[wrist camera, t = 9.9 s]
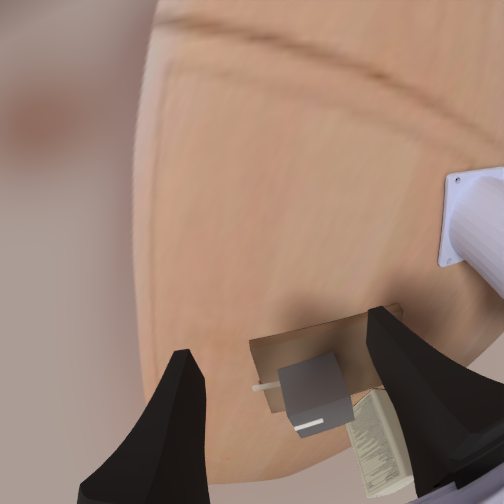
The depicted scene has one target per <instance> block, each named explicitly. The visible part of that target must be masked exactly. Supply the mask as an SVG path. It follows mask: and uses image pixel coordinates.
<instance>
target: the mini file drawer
mask: <svg viewBox="0 0 504 504" xmlns="http://www.w3.org/2000/svg"><path fill="white" fill-rule="evenodd" d="M277 372H278V376H279V381H280V385H281V390H282V394H283V399H284V404H285V408H286V413H287V417H288V418H289V420H290V422H291V423H292V425H293V426H294V429H295V430H296V431H297V433H298V434H299V436H300V437H301V438H304V437H308V436H311V435H314V434H317V433H320V432H323V431H326V430H329V429H332V428H335V427H338V426H341V425H344V424H346V423H349V422H352V421H354V420H355V417H354V412H353V407H352V402H351V397H350V393H349V391H348V388H347V386H346V383H345V381H344V378H343V375H342V373H341V370H340V368H339V365H338V363H337V360H336V358H335V355H334V353H333V351H331V352H329V353H326V354H323V355H321V356H318V357H315V358H312V359H309V360H307V361H304V362H301V363H298V364H295V365H292V366H289V367H286V368H283V369H280V370H277Z"/></svg>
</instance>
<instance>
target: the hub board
mask: <svg viewBox="0 0 504 504" xmlns="http://www.w3.org/2000/svg"><path fill="white" fill-rule="evenodd" d="M384 308H386V309H387V310H388V311H389V312H390V313H391V314H392V315H394V316H395V317H396V318H397V319H398V320H399V321H401V320H402V314H403V310H402V308H401V307H400V305H399V304H398V303H397V304H394V305H390V306H387V307H384ZM367 320H368V312H366V313H363V314H359V315H355V316H352V317H348V318H344V319H340V320H337V321H333V322H329V323H325V324H321V325H317V326H313V327H309V328H304V329H300V330H296V331H291V332H287V333H282V334H278V335H273V336H268V337H264V338H259V339H254V340H249V344H250V351H251V354H252V357H253V360H254V363H255V366H256V369H257V372H258V375H259V378H260V381H261V385H255V386H252V388H253V391H259V390H264V393H265V396H266V399H267V402H268V404H269V407H270V410H271V413H277V412H282V411H286V408H285V404H284V399H283V394H282V390H281V385H280V381H279V376H278V372H277V370H280V369H283V368H286V367H289V366H292V365H295V364H298V363H301V362H304V361H307V360H309V359H312V358H315V357H318V356H321V355H323V354H326V353H329V352H331V351H333V353H334V355H335V358H336V360H337V363H338V365H339V368H340V370H341V373H342V375H343V378H344V381H345V383H346V386H347V388H348V391H349V393H350V395H352V394H355V393H358V392H362V391H365V390H368V389H371V388H374V387H378V386H381V385H383V384H382V382H381V379H380V377H379V375H378V373H377V371H376V369H375V367H374V365H373V363H372V360H371V357H370V354H369V351H368V348H367V345H366V334H367Z"/></svg>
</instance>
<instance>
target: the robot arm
mask: <svg viewBox="0 0 504 504" xmlns="http://www.w3.org/2000/svg"><path fill="white" fill-rule="evenodd" d="M456 178H457V181H456ZM455 181H456V182H455ZM464 260H465V261H466V262H468V263H469V264H470V265H471V266H472V267H473V268H474V269H475V270H476V271H477V272H478V273H479V274H480V275H481V276H482V277H483V278H484V279H485V280H486V281H487V283H488V284H489V285H490V286H491V287H492V288H493V289H494V290H495V291H496V292H497V293H498V294H499V295H500V296H501V297H502V298H503V300H504V166H502V167H494V168H486V169H479V170H472V171H465V172H458V173H451V174H449V175H448V176H447V177H446V181H445V199H444V213H443V224H442V233H441V242H440V250H439V257H438V265H439V266H440V267H446V266H449V265H452V264H455V263H458V262H461V261H464ZM366 345H367V348H368V351H369V354H370V357H371V360H372V363H373V365H374V367H375V369H376V371H377V373H378V375H379V377H380V379H381V382H382V384H383V386H384V388H385V390H386V392H387V394H388V396H389V398H390V400H391V402H392V404H393V406H394V409H395V411H396V414H397V417H398V420H399V423H400V426H401V429H402V432H403V436H404V439H405V443H406V446H407V450H408V454H409V458H410V463H411V467H412V472H413V477H414V483H415V489H416V494H417V496H418V499H416V500H413V501H411V502H409V503H406V504H504V384H502V383H500V382H497V381H494V380H492V379H489V378H486V377H484V376H482V375H479V374H478V373H476V372H473V371H471V370H469V369H467V368H465V367H463V366H461V365H460V364H458V363H456V362H454V361H453V360H451V359H450V358H448V357H446V356H445V355H443V354H442V353H440V352H439V351H437V350H436V349H435V348H433V347H432V346H430V345H429V344H428V343H426V342H425V341H424V340H422V339H421V338H420V337H419V336H417V335H416V334H415V333H414V332H412V331H411V330H410V329H409V328H408V327H406V326H405V325H404V324H403V323H402V322H401V321H399V320H398V319H397V318H396V317H395V316H394V315H392V314H391V313H390V312H389V311H388V310H387V309H386V308H384V307H383V306H379V307H376V308H372V309H369V310H368V320H367V334H366ZM205 422H206V388H205V378H204V376H203V374H202V373H201V371H200V369H199V367H198V365H197V363H196V361H195V360H194V358H193V356H192V354H191V352H190V350H189V349H184V350H178V351H174V353H173V355H172V357H171V359H170V361H169V363H168V365H167V368H166V370H165V372H164V374H163V376H162V378H161V380H160V382H159V384H158V386H157V388H156V390H155V392H154V394H153V396H152V398H151V400H150V401H149V403H148V405H147V407H146V408H145V410H144V412H143V414H142V415H141V417H140V418H139V420H138V421H137V423H136V425H135V426H134V428H133V429H132V430H131V432H130V433H129V434H128V436H127V437H126V439H125V440H124V441H123V442H122V444H121V445H120V446H119V447H118V448H117V450H116V451H115V452H114V453H113V454H112V455H111V456H110V457H109V458H108V459H107V460H106V461H105V462H104V463H103V465H101V467H99V468H98V469H97V470H96V471H95V472H94V473H93V474H91V475H90V476H89V477H88V478H87V479H86V480H84V481H83V482H82V483H81V484H80V487H79V493H78V500H77V504H210V498H209V492H208V484H207V476H206V466H205V448H204V446H205Z"/></svg>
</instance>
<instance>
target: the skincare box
mask: <svg viewBox="0 0 504 504" xmlns="http://www.w3.org/2000/svg"><path fill="white" fill-rule="evenodd" d="M353 412H354V417H355V420H354V421H352V422H349V423H346V424H345V425H346V428H347V431H348V435H349V438H350V441H351V445H352V448H353V451H354V454H355V458H356V461H357V465H358V468H359V471H360V475H361V478H362V482H363V486H364V489H365V493H366V496H367V499H368V498H373V497H378V496H382V495H387V494H392V493H394V492H396V491H397V490H399V489H401V488H403V487H404V486H406V485H408V484H410V483H411V482H413V481H414V477H413V472H412V467H411V463H410V458H409V454H408V450H407V446H406V443H405V439H404V436H403V432H402V429H401V426H400V423H399V420H398V417H397V414H396V411H395V409H394V406H393V404H392V402H391V400H390V398H389V396H388V394H387V392H386V390H382V389H372V390H371V391H370V392H369V393H368V394H367V395H365V396H364V397H363V398H362V399H361V400H360V401H359V402H358V403H357V404H356V405H355V406H354V407H353Z"/></svg>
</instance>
